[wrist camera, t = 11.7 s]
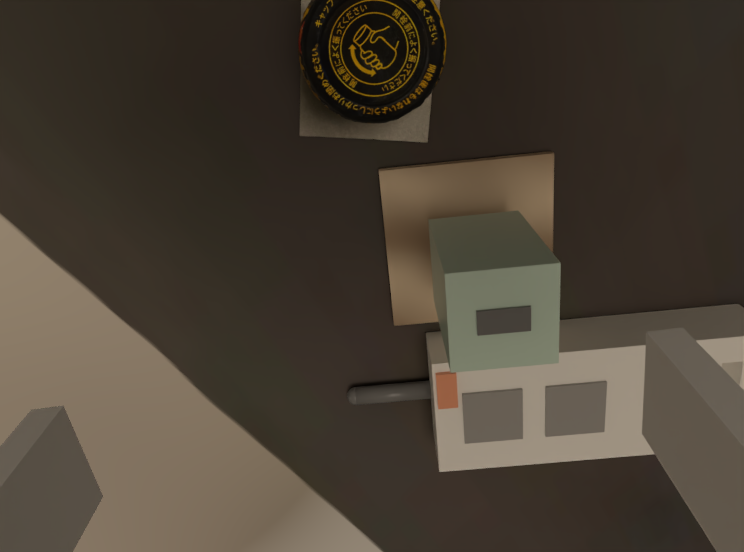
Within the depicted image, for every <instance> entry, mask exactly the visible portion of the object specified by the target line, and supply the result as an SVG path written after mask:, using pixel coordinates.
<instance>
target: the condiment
mask: <svg viewBox="0 0 744 552" xmlns="http://www.w3.org/2000/svg"><path fill="white" fill-rule="evenodd" d="M439 8H440V0H301V24H300V31H299V41H298V46H299V49H298V53H299V61H300V136H319V137H337V138H358V139H377V140H392V141H410V142H428V131H429V120H430V110H431V96H432V90H433V88H434V87H435V86H436V84H437V82H438V80H439V77H440V75H441V73H442V70H443V67H444V63H445V60H446V59H445V56H446V32H445V29H444V24H443V21H442V18H441V15H440V12H439Z"/></svg>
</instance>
